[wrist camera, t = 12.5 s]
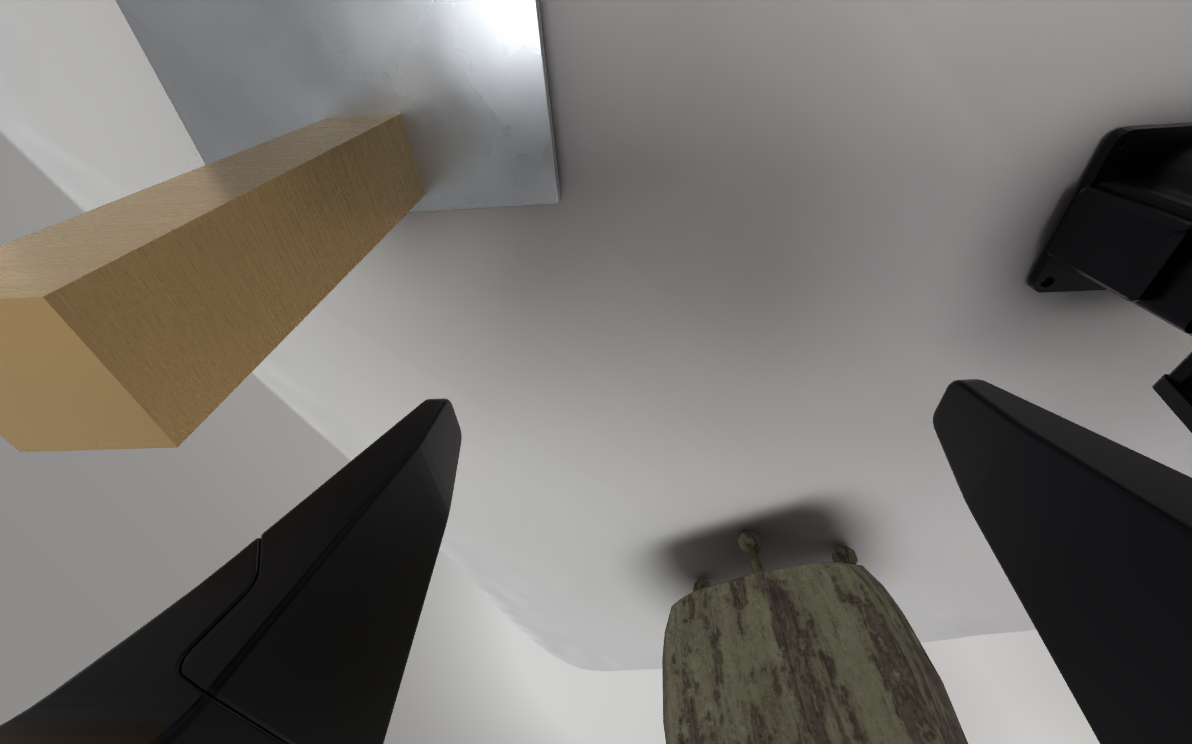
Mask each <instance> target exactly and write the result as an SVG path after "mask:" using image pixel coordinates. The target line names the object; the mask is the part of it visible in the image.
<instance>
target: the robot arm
mask: <svg viewBox="0 0 1192 744" xmlns="http://www.w3.org/2000/svg"><path fill="white" fill-rule="evenodd" d="M1126 139H1127V140H1126ZM1124 140H1126V142H1125V143H1124V145H1123V146H1121V147H1120V145H1121V144H1122V142H1123V141H1124ZM1046 278H1047V279H1046ZM1044 279H1046V280H1045V281H1043V280H1044ZM1042 281H1043V282H1042ZM1028 286H1030V287H1031V288H1032V289H1034V290H1035V291H1037V292H1064V291H1086V290H1110V291H1111V292H1113V293H1115V294H1117V295H1118V296H1120V297H1122V298H1124V299H1125V300H1127V301H1131V302H1132V303H1134V304H1136V305H1138V306H1139V307H1141V308H1143V309H1145V310H1147V311H1148V312H1150V313H1152V314H1154V315H1155V316H1157V317H1159V318H1161V319H1162V320H1164V321H1166V322H1168V323H1169V324H1171V325H1173V326H1175V327H1176V328H1178V329H1180V330H1182V331H1184V332H1185V333H1187V334H1189V335H1191V336H1192V123H1181V124H1166V125H1150V126H1135V127H1125V128H1121V129H1119V130H1117V131H1115V132H1114V133H1113V134H1111V135H1110V136H1109V137H1108V138H1107V140H1106V141H1105V142H1104V144H1103V146H1102V148H1101V149H1100V151H1099V153H1098V155H1097V157H1096V158H1095V160H1094V162H1093V164H1092V166H1091V167H1090V169H1089V171H1088V173H1087V175H1086V176H1085V178H1084V180H1083V182H1082V184H1081V186H1080V187H1079V189H1078V191H1077V193H1076V195H1075V196H1074V198H1073V200H1072V202H1071V204H1070V205H1069V207H1068V209H1067V211H1066V213H1065V214H1064V216H1063V218H1062V220H1061V222H1060V223H1059V225H1058V227H1057V229H1056V231H1055V233H1054V234H1053V236H1052V238H1051V240H1050V242H1049V243H1048V245H1047V247H1046V249H1045V251H1044V252H1043V254H1042V256H1041V258H1040V260H1039V261H1038V263H1037V265H1036V267H1035V269H1034V270H1033V272H1032V274H1031V276H1030V278H1029V280H1028ZM1153 389H1154V390H1155V391H1156V392H1157V393H1158V395H1159V396H1160V397H1161V398H1162V399H1163V400H1164V401H1165V403H1166V404H1167V405H1168V406H1169V407H1170V408H1171V410H1172V411H1173V412H1174V413H1175V414H1176V415H1177V416H1178V418H1179V419H1180V420H1181V421H1182V422H1183V423H1184V424H1185V426H1186V427H1187V428H1188V429H1189V430H1190V431H1191V433H1192V352H1191V353H1190V354H1189V355H1188V356H1187V357H1186V358H1185V359H1184V360H1183V361H1182V362H1181V363H1180V364H1179V365H1178V366H1177V367H1176V368H1175V369H1174V370H1173V371H1172V372H1171V373H1170V374H1165V375H1163V376H1162V377H1161V378H1160V379H1159V380H1158V381H1157V382H1156V383H1155V384H1154V385H1153ZM933 425H934V429H935V431H936V433H937V436H938V438H939V441H940V443H941V445H942V448H943V450H944V452H945V455H946V457H947V459H948V462H949V464H950V467H951V469H952V471H953V474H954V476H955V478H956V481H957V483H958V486H959V488H960V490H961V492H962V495H963V497H964V499H965V501H966V503H967V505H968V507H969V509H970V511H971V513H972V515H973V517H974V518H975V520H976V522H977V524H978V526H979V527H980V529H981V531H982V533H983V535H984V536H985V538H986V540H987V542H988V543H989V545H990V547H991V549H992V551H993V552H994V554H995V556H996V558H997V560H998V561H999V563H1000V565H1001V567H1002V569H1003V570H1004V572H1005V574H1006V576H1007V578H1008V579H1009V581H1010V583H1011V585H1012V586H1013V588H1014V590H1015V592H1016V594H1017V595H1018V597H1019V599H1020V601H1021V603H1022V604H1023V606H1024V608H1025V610H1026V612H1027V613H1028V615H1029V617H1030V619H1031V621H1032V622H1033V624H1034V626H1035V628H1036V629H1037V631H1038V633H1039V635H1040V637H1041V638H1042V640H1043V642H1044V644H1045V645H1046V647H1047V649H1048V651H1049V653H1050V655H1051V656H1052V658H1053V660H1054V662H1055V664H1056V665H1057V667H1058V669H1059V671H1060V672H1061V674H1062V676H1063V678H1064V680H1065V681H1066V683H1067V685H1068V687H1069V689H1070V690H1071V692H1072V694H1073V696H1074V697H1075V699H1076V701H1077V703H1078V704H1079V707H1080V708H1081V710H1082V712H1083V714H1084V715H1085V717H1086V719H1087V721H1088V723H1089V724H1090V726H1091V728H1092V730H1093V731H1094V733H1095V735H1096V737H1097V739H1098V741H1099V742H1100V744H1192V478H1191V477H1189V476H1187V475H1185V474H1182V473H1180V472H1178V471H1176V470H1174V469H1172V468H1170V467H1167V466H1165V465H1163V464H1161V463H1159V462H1157V461H1155V460H1152V459H1150V458H1148V457H1146V456H1144V455H1142V454H1140V453H1137V452H1135V451H1133V450H1131V449H1129V448H1127V447H1125V446H1122V445H1120V444H1118V443H1116V442H1114V441H1112V440H1110V439H1107V438H1105V437H1103V436H1101V435H1099V434H1097V433H1095V432H1092V431H1090V430H1088V429H1086V428H1084V427H1082V426H1080V425H1077V424H1075V423H1073V422H1071V421H1069V420H1067V419H1065V418H1062V417H1060V416H1058V415H1056V414H1054V413H1052V412H1050V411H1047V410H1045V409H1043V408H1041V407H1039V406H1037V405H1035V404H1033V403H1030V402H1028V401H1026V400H1024V399H1022V398H1020V397H1018V396H1015V395H1013V394H1011V393H1009V392H1007V391H1005V390H1003V389H1000V388H998V387H996V386H994V385H992V384H990V383H988V382H985V381H983V380H978V379H972V380H956V381H953V382H952V383H951V384H949V386H948V387H947V389H946V391H945V393H944V395H943V397H942V399H941V401H940V403H939V405H938V407H937V409H936V411H935V413H934V416H933ZM460 446H461V430H460V426H459V423H458V421H457V418H456V415H455V412H454V409H453V406H452V404H451V402H450V401H449V400H448V399H428V400H425V401H424V402H423V403H421V404H420V405H419V406H418V407H416V408H415V409H414V410H413V411H412V412H410V413H409V414H408V415H407V416H405V417H404V418H403V419H402V420H401V421H399V422H398V423H397V424H396V425H395V426H393V427H392V428H391V429H390V430H388V431H387V432H386V433H385V434H384V435H382V436H381V437H380V438H379V439H377V440H376V441H375V442H374V443H373V444H371V445H370V446H369V447H368V448H366V449H365V450H364V451H363V452H362V453H360V454H359V455H358V456H357V457H356V458H354V459H353V460H352V461H351V462H349V463H348V464H347V465H346V466H345V467H343V468H342V469H341V470H340V471H338V472H337V473H336V474H335V475H334V476H332V477H331V478H330V479H329V480H328V481H326V482H325V483H324V484H323V485H321V486H320V487H319V488H318V489H317V490H315V491H314V492H313V493H312V494H310V495H309V496H308V497H307V498H306V499H304V500H303V501H302V502H301V503H299V504H298V505H297V506H296V507H295V508H293V509H292V510H291V511H290V512H289V513H287V514H286V515H285V516H284V517H282V518H281V519H280V520H279V521H278V522H276V523H275V524H274V525H273V526H271V527H270V528H269V529H268V530H267V531H265V532H264V533H263V534H262V536H261V538H257V539H255V541H253V542H252V543H250V544H249V545H248V546H247V547H246V548H244V549H243V550H242V551H241V552H240V553H238V554H237V555H236V556H235V557H234V558H232V559H231V560H230V561H228V562H227V563H226V564H225V565H223V566H222V567H221V568H220V569H218V570H217V571H216V572H214V573H213V574H212V575H211V576H209V577H208V578H207V579H206V580H204V581H203V582H202V583H201V584H200V585H198V586H197V587H195V588H194V589H193V590H191V591H190V592H189V593H187V594H186V595H185V596H183V597H182V598H181V599H179V600H178V601H177V602H175V603H174V604H173V605H171V606H170V607H169V608H167V609H166V610H165V611H163V612H162V613H161V614H159V615H158V616H157V617H155V618H154V619H152V620H151V621H150V622H148V623H147V624H146V625H145V626H143V627H141V628H140V629H139V630H137V631H136V632H135V633H133V634H132V635H130V636H129V637H128V638H126V639H125V640H124V641H122V642H121V643H119V644H118V645H117V646H115V647H114V648H113V649H111V650H110V651H108V652H107V653H106V654H104V655H103V656H102V657H100V658H99V659H97V660H96V661H95V662H93V663H92V664H91V665H90V666H88V667H86V668H85V669H84V670H82V671H81V672H80V673H78V674H77V675H75V676H74V677H73V678H71V679H70V680H69V681H67V682H66V683H64V684H63V685H62V686H60V687H59V688H58V689H56V690H55V691H53V692H52V693H51V694H50V695H48V696H46V697H45V698H43V699H42V700H41V701H39V702H38V703H36V704H35V705H33V706H32V707H30V708H29V709H27V710H26V711H24V712H22V713H21V714H19V715H17V716H16V717H14V718H13V719H11V720H9V721H8V722H6V723H4V724H2V725H0V744H383V743H384V739H385V736H386V732H387V729H388V726H389V722H390V719H391V715H392V712H393V708H394V705H395V701H396V698H397V694H398V691H399V687H400V683H401V680H402V677H403V673H404V670H405V666H406V663H407V659H408V656H409V653H410V649H411V645H412V642H413V639H414V635H415V632H416V628H417V625H418V621H419V618H420V614H421V611H422V607H423V604H424V600H425V597H426V593H427V590H428V586H429V583H430V580H431V576H432V573H433V569H434V566H435V562H436V558H437V555H438V552H439V548H440V545H441V541H442V538H443V534H444V531H445V527H446V524H447V520H448V516H449V511H450V506H451V501H452V495H453V489H454V483H455V477H456V470H457V464H458V458H459V452H460Z"/></svg>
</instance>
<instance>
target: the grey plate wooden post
mask: <svg viewBox="0 0 1192 744" xmlns="http://www.w3.org/2000/svg"><path fill="white" fill-rule="evenodd" d="M116 2H117V4H118V5H119V7H120V9H121V11H122V13H123V14H124V16H125V18H126V20H127V22H128V24H129V25H130V27H131V29H132V31H133V33H134V35H135V36H136V38H137V40H138V42H139V44H140V46H141V47H142V49H143V51H144V53H145V55H146V57H147V58H148V60H149V62H150V64H151V66H152V67H153V69H154V71H155V73H156V75H157V77H158V78H159V80H160V82H161V84H162V86H163V88H164V89H165V91H166V93H167V95H168V97H169V99H170V100H171V102H172V104H173V106H174V108H175V109H176V111H177V113H178V115H179V117H180V119H181V120H182V122H183V124H184V126H185V128H186V130H187V131H188V133H189V135H190V137H191V139H192V141H193V142H194V144H195V146H196V148H197V150H198V151H199V153H200V155H201V157H202V159H203V161H204V162H205V164H206V165H205V166H203V167H200V168H197V169H195V170H192V171H190V172H187V173H185V174H182V175H180V176H177V177H175V178H172V179H169V180H167V181H164V182H162V183H159V184H157V185H154V186H152V187H149V188H147V189H144V190H141V191H139V192H136V193H134V194H131V195H129V196H126V197H124V198H121V199H119V200H116V201H113V202H111V203H108V204H106V205H103V206H101V207H98V208H96V209H93V210H91V211H88V212H86V213H83V214H80V215H78V216H75V217H73V218H70V219H68V220H65V221H63V222H60V223H58V224H55V225H52V226H50V227H47V228H45V229H42V230H40V231H37V232H35V233H32V234H30V235H27V236H24V237H22V238H19V239H17V240H14V241H12V242H9V243H7V244H4V245H2V246H0V435H1V436H2V437H3V438H4V439H6V440H7V441H8V442H9V443H10V444H12V445H13V446H14V447H15V448H16V449H18V450H19V451H20V452H36V451H70V450H105V449H139V448H172V447H178V446H180V444H181V443H182V442H183V441H184V440H185V439H186V438H187V437H188V436H189V435H190V434H191V433H192V432H193V431H194V430H195V429H196V428H197V427H198V426H199V425H200V424H201V423H202V422H203V421H204V420H205V419H206V418H207V417H208V416H209V415H210V414H211V413H212V412H213V411H214V410H215V409H216V408H217V407H218V406H219V405H220V404H221V402H223V401H224V400H225V399H226V398H227V397H228V396H229V394H230V393H232V392H233V390H234V389H235V388H236V387H237V386H238V385H239V384H240V383H241V382H242V381H243V380H244V379H245V378H246V377H247V376H248V375H249V374H250V373H251V372H252V371H253V370H254V369H255V368H256V367H257V366H258V365H259V364H260V363H261V362H262V361H263V360H264V359H265V358H266V357H267V356H268V355H269V354H270V353H271V352H272V351H273V350H274V349H275V348H276V347H277V346H278V345H279V344H280V343H281V342H282V341H283V340H284V338H285V337H286V336H287V335H288V334H289V333H290V332H291V331H292V330H293V329H294V328H295V327H296V326H297V325H298V324H299V323H300V322H301V321H302V320H303V319H304V318H305V317H306V316H307V315H308V314H309V313H310V312H311V311H312V310H313V309H314V308H315V307H316V306H317V305H318V304H319V303H320V302H321V301H322V300H323V299H324V298H325V297H326V296H327V295H328V294H329V293H330V292H331V291H332V290H333V289H334V288H335V287H336V285H337V284H338V283H339V282H340V281H341V280H342V279H343V278H344V277H345V276H346V275H347V274H348V273H349V272H350V271H351V270H352V269H353V268H354V267H355V266H356V265H357V264H358V263H359V262H360V261H361V260H362V259H363V258H364V257H365V256H366V255H367V254H368V253H369V252H370V251H371V250H372V249H373V248H374V247H375V246H376V245H377V244H378V243H379V242H380V241H381V240H382V239H383V238H384V237H385V236H386V235H387V233H388V232H389V231H390V230H391V229H392V228H393V227H394V226H395V225H396V224H397V223H398V222H399V221H400V220H401V219H402V218H403V217H404V216H405V215H406V214H407V213H408V212H422V211H439V210H456V209H473V208H490V207H507V206H523V205H540V204H557V203H559V200H560V196H561V194H560V185H559V176H558V167H557V157H556V148H555V139H554V130H553V121H552V112H551V103H550V94H549V85H548V76H547V67H546V58H545V49H544V40H543V31H542V22H541V13H540V4H539V0H116Z"/></svg>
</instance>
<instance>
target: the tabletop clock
mask: <svg viewBox="0 0 1192 744" xmlns="http://www.w3.org/2000/svg"><path fill="white" fill-rule="evenodd" d="M738 544H739V547H740V548H741V550H742V551H743V552H744V553H746V554H749V555H750V559H751V563H752V568H753V572H754V574H751V575H747V576H744V577H740V578H737V579H734V580H730V581H727V582H724V583H720V584H717V585H713V586H712V585H711V583H710V582H708V581H706V580H699V581H697V582H696V583H695V584H694V588H693V592H692V593H690V594H688V595H687V596H685V597H683V598H682V599H680V600H679V601H678V602H677V603H675V604H674V605H673V606H672V607H671V611H670V615H669V619H668V622H667V626H666V630H665V637H664V647H663V661H662V663H663V723H664V730H665V737H666V744H968V742H967V740H966V738H965V735H964V733H963V730H962V728H961V725H960V723H959V721H958V718H957V716H956V713H955V711H954V708H953V706H952V704H951V701H950V699H949V697H948V694H947V691H946V689H945V687H944V684H943V682H942V680H941V678H940V677H939V675H938V673H937V671H936V670H935V668H934V666H933V664H932V663H931V661H930V659H929V657H928V656H927V654H926V652H925V650H924V649H923V647H922V645H921V643H920V641H919V640H918V638H917V636H916V634H915V633H914V631H913V629H912V627H911V626H910V624H909V622H908V620H907V619H906V617H905V615H904V614H903V612H902V611H901V610H900V608H899V607H898V605H897V604H896V602H895V601H894V600H893V598H892V597H891V596H890V594H889V593H888V592H887V590H886V589H885V588H884V586H883V585H882V584H881V583H880V582H879V581H878V580H877V579H876V578H875V577H874V576H873V575H871V574H870V573H869V572H868V571H867V570H866V569H865V568H864V567H863V566H861V565H856V563H857V561H858V560H857V556H856V554H855V552H854V551H853V550H852V549H850V548H849V547H847V546H838V547H837V548H835V549H834V551H833V553H832V559H833V561H834V562H826V563H813V564H805V565H799V566H793V567H788V568H782V569H776V570H770V571H764V569H763V566H762V564H761V562H760V559H759V557H758V555H757V553H758V552H759V551H760V550H761V548H762V541H761V538H760V537H759V535H758V534H757V533H756V532H754V531H752V530H746V531H743V532H742V533H741V534H740V535H739V537H738Z"/></svg>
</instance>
